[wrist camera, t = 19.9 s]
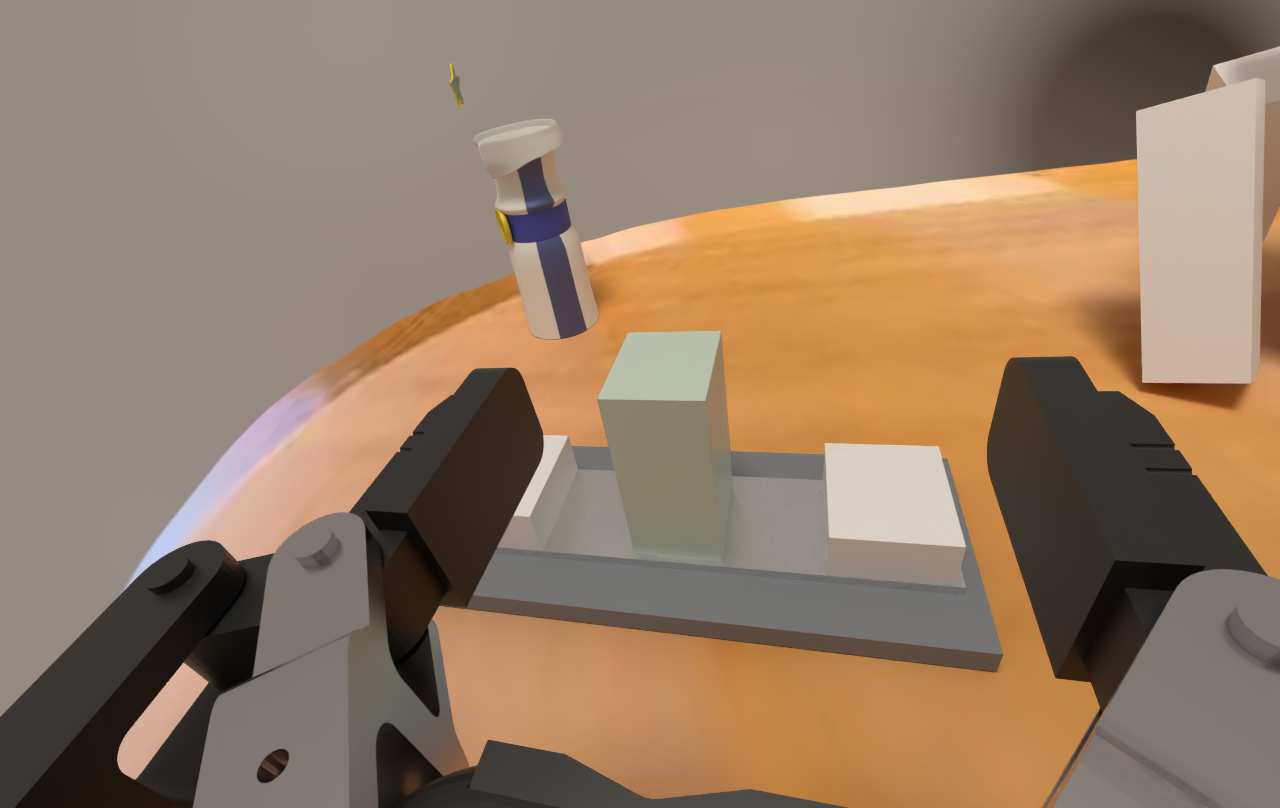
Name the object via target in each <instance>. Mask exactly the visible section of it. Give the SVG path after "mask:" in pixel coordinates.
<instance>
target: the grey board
mask: <svg viewBox="0 0 1280 808" xmlns="http://www.w3.org/2000/svg"><path fill="white" fill-rule="evenodd" d="M572 450H573V453H574V457H575V460H576V463H577V467H578V469H585V470H607V471H614V466H613V462H612V458H611V454H610V450H609V447H585V446H572ZM730 453H731V466H732V476H741V477H763V478H786V479H808V480H823V468H824V455H823V454H793V453H763V452H734V451H730ZM942 461H943V465H944V468H945V472H946V476H947V479H948V483H949V487H950V490H951V494H952V497H953V501H954V505H955V508H956V512H957V516H958V519H959V523H960V527H961V530H962V534H963V537H964V541H965V545H966V550H965V553H964V557H963V560H962V564H961V569H962V573H963V577H964V581H965V585H966V590H965V594H964V595H957V594H946V593H934V592H923V591H912V590H901V589H890V588H879V587H868V586H856V585H845V584H834V583H823V582H812V581H801V580H790V579H778V578H767V577H756V576H745V575H734V574H723V573H711V572H700V571H689V570H678V569H667V568H656V567H645V566H633V565H622V564H611V563H600V562H589V561H578V560H567V559H555V558H544V557H533V556H522V555H511V554H500V553H494V555H493V556H492V558H491V560H490V562H489V564H488V566H487V568H486V570H485V572H484V574H483V576H482V578H481V580H480V582H479V584H478V586H477V588H476V590H475V592H474V594H473V596H472V598H471V600H470V602H469V604H468V606H467V608H465V607H457V608H465V609H474V610H482V611H490V612H499V613H507V614H516V615H524V616H532V617H541V618H549V619H557V620H566V621H574V622H582V623H591V624H599V625H607V626H616V627H624V628H632V629H641V630H649V631H657V632H666V633H674V634H682V635H691V636H699V637H708V638H716V639H724V640H733V641H741V642H749V643H758V644H766V645H774V646H783V647H791V648H799V649H808V650H816V651H824V652H833V653H841V654H849V655H858V656H866V657H874V658H883V659H891V660H899V661H908V662H916V663H925V664H933V665H941V666H950V667H958V668H966V669H975V670H983V671H991V672H996V671H997V668H998V666H999V664H1000V661H1001V659H1002V656H1003V652H1002V649H1001V645H1000V642H999V638H998V635H997V631H996V628H995V624H994V621H993V617H992V614H991V610H990V607H989V603H988V600H987V596H986V593H985V589H984V586H983V582H982V579H981V575H980V572H979V568H978V565H977V561H976V558H975V554H974V551H973V547H972V544H971V540H970V537H969V533H968V530H967V526H966V523H965V519H964V516H963V512H962V509H961V505H960V502H959V498H958V495H957V491H956V488H955V484H954V481H953V477H952V474H951V470H950V467H949V463H948V460H947V459H942ZM440 606H448V605H440ZM449 607H456V606H449Z"/></svg>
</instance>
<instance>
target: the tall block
mask: <svg viewBox="0 0 1280 808" xmlns="http://www.w3.org/2000/svg"><path fill="white" fill-rule="evenodd" d="M597 400H598V405H599V409H600V413H601V417H602V421H603V425H604V429H605V433H606V438H607V442H608V446H609V450H610V454H611V458H612V462H613V466H614V471H615V475H616V479H617V483H618V487H619V491H620V495H621V499H622V503H623V508H624V512H625V516H626V520H627V524H628V528H629V532H630V536H631V541H632V545H633V549H634V553H640V554H651V555H662V556H673V557H684V558H695V559H707V560H718V561H722V557H723V550H724V543H725V536H726V529H727V522H728V514H729V507H730V500H731V493H732V486H733V479H732V466H731V453H730V440H729V427H728V414H727V401H726V388H725V375H724V362H723V349H722V336H721V331H689V332H634V333H628V334H627V337H626V339H625V341H624V343H623V345H622V347H621V349H620V352H619V354H618V356H617V358H616V360H615V362H614V364H613V367H612V369H611V371H610V373H609V375H608V377H607V379H606V382H605V384H604V386H603V388H602V390H601V392H600V394H599V397H598V399H597Z"/></svg>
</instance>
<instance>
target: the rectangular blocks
mask: <svg viewBox="0 0 1280 808" xmlns="http://www.w3.org/2000/svg"><path fill="white" fill-rule="evenodd" d="M543 437H544V449H543V455H542V459H541V462H540V464H539V466H538V468H537V470H536V472H535V474H534V476H533V478H532V480H531V482H530V484H529V486H528V488H527V490H526V492H525V493H524V495H523V497H522V499H521V501H520V503H519V505H518V507H517V509H516V511H515V513H514V515H513V517H512V519H511V521H510V523H509V525H508V527H507V529H506V531H505V533H504V535H503V537H502V539H501V541H500V543H499V545H498V547H501V548H512V549H524V550H535V551H543V550H544V547H545V545H546V543H547V540H548V538H549V536H550V533H551V531H552V529H553V527H554V524H555V522H556V520H557V517H558V515H559V513H560V510H561V508H562V506H563V503H564V501H565V499H566V496H567V494H568V492H569V489H570V487H571V485H572V482H573V480H574V478H575V475H576V473H577V471H578V467H577V463H576V460H575V457H574V453H573V450H572V446H571V443H570V440H569V436H557V435H543ZM823 496H824V521H825V547H826V572H827V576H836V577H847V578H859V579H870V580H882V581H894V582H905V583H917V584H928V585H940V586H951V587H955V585H956V581H957V578H958V574H959V571H960V567H961V564H962V560H963V557H964V553H965V550H966V545H965V541H964V537H963V534H962V530H961V527H960V523H959V519H958V516H957V512H956V508H955V505H954V501H953V497H952V494H951V490H950V487H949V483H948V479H947V476H946V472H945V468H944V465H943V461H942V457H941V454H940V450H939V447H938V446H905V445H870V444H836V443H825V449H824V468H823Z"/></svg>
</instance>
